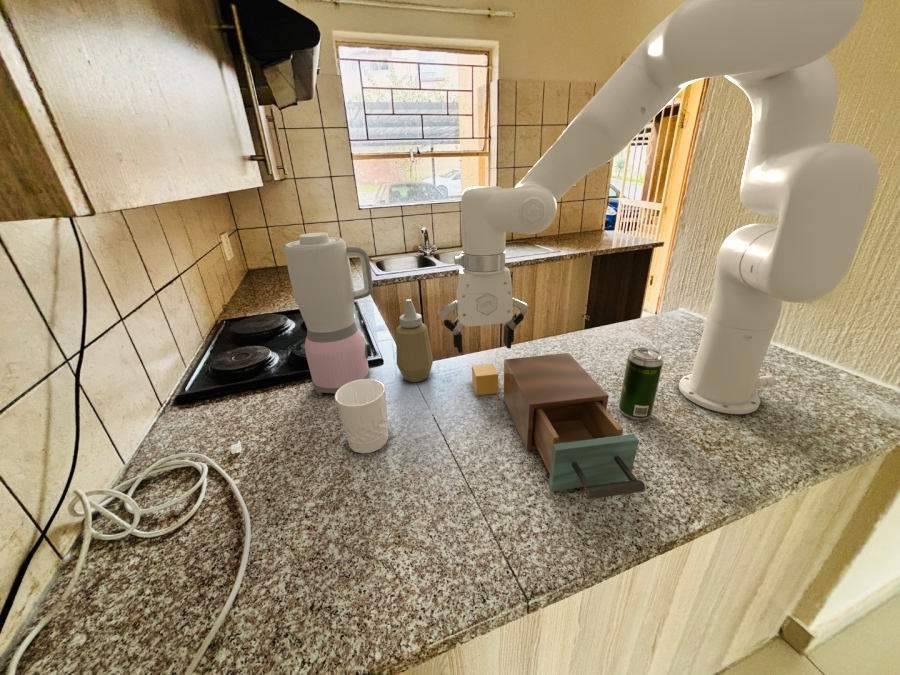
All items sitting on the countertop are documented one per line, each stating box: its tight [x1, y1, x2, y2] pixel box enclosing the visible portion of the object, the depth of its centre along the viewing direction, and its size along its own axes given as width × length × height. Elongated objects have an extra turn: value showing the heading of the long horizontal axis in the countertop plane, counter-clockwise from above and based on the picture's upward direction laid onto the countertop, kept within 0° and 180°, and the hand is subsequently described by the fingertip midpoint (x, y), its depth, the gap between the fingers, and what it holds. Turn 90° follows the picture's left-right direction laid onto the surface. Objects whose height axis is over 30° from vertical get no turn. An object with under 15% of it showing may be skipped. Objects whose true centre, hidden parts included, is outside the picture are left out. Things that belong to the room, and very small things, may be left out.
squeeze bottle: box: [395, 298, 434, 383], centre depth 77 cm, size 8×8×18 cm
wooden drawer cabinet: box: [502, 352, 609, 452], centre depth 63 cm, size 15×13×9 cm
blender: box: [279, 231, 374, 396], centre depth 73 cm, size 16×12×32 cm
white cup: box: [334, 378, 389, 455], centre depth 60 cm, size 8×8×10 cm
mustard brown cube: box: [471, 363, 499, 396], centre depth 74 cm, size 4×4×4 cm
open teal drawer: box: [532, 401, 646, 500], centre depth 52 cm, size 19×11×7 cm, turn 7°
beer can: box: [618, 346, 664, 421], centre depth 63 cm, size 5×5×12 cm
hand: (483, 347), depth 71 cm, fingers open, 9 cm apart
